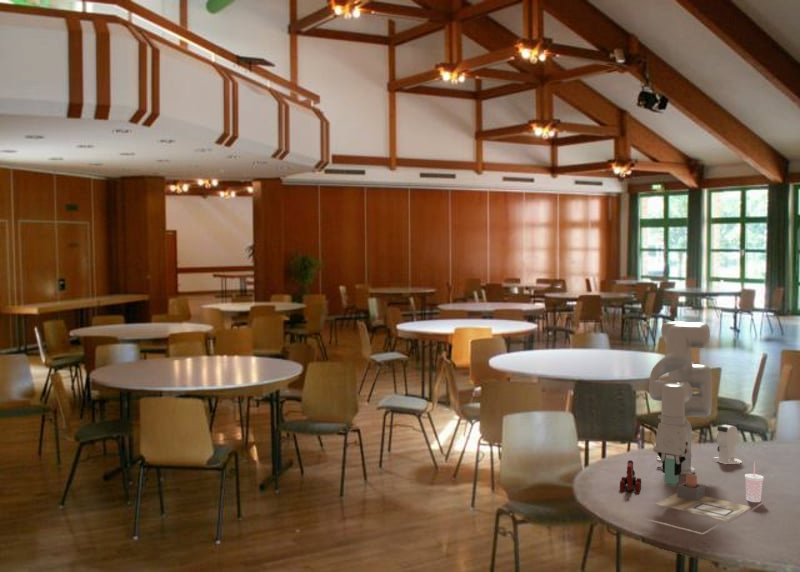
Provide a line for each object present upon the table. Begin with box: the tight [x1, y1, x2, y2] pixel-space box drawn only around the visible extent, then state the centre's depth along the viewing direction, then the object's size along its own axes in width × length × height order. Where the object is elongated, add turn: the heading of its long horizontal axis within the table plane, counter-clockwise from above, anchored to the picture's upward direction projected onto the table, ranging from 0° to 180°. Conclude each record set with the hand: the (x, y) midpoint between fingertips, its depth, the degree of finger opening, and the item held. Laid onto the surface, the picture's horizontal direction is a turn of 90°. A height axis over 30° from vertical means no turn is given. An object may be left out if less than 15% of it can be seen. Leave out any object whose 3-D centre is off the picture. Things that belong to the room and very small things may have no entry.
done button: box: [685, 473, 698, 488], centre depth 286 cm, size 4×4×5 cm
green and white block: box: [664, 454, 680, 487], centre depth 279 cm, size 3×3×11 cm
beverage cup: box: [744, 461, 765, 503], centre depth 283 cm, size 6×6×14 cm
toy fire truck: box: [619, 460, 642, 494], centre depth 296 cm, size 7×12×10 cm, turn 160°
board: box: [654, 492, 752, 524], centre depth 277 cm, size 25×20×1 cm
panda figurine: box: [713, 422, 743, 465], centre depth 335 cm, size 12×11×15 cm
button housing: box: [676, 481, 706, 501], centre depth 286 cm, size 7×7×4 cm
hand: (671, 472), depth 279 cm, fingers closed on green and white block, 3 cm apart
